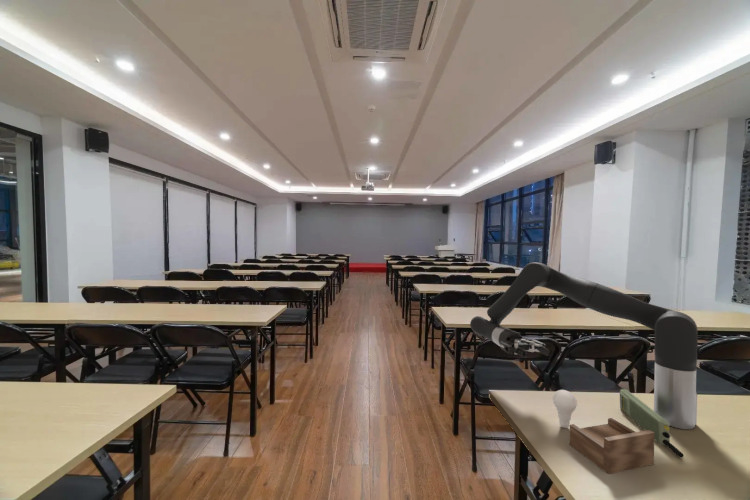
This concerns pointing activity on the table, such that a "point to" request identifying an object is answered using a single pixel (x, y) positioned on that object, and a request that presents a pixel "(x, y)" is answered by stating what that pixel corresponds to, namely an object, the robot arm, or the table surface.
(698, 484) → the table surface
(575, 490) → the table surface
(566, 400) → the lightbulb
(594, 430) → the stand
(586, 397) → the table surface
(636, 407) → the handheld radio
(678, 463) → the table surface
